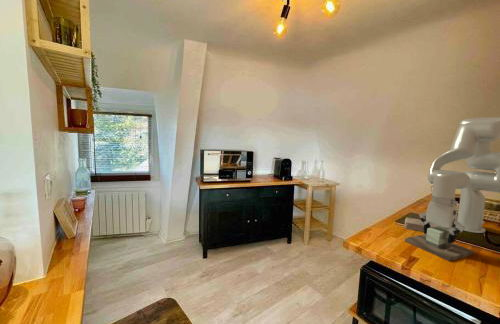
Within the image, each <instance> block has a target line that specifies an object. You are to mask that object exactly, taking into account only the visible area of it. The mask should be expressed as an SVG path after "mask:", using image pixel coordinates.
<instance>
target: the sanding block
mask: <svg viewBox="0 0 500 324" xmlns="http://www.w3.org/2000/svg"><path fill="white" fill-rule="evenodd" d="M426 234H427V236H426V243H427V244H429V245H431V246H434V247H436V248H442V247H446V246H450V243H448V237H449V234H450V232H449V230H448V229H447V228H443V227H440V226H437V227H432V228H427V233H426Z"/></svg>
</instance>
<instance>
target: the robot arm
mask: <svg viewBox="0 0 500 324" xmlns="http://www.w3.org/2000/svg"><path fill="white" fill-rule="evenodd" d="M458 125H459V126H458V128H457V129H456V132H455V135H454V138H453V140H452V143H451V145H450V149H449V150H447V151H446V152H443V153H442V154H440V155H438V157H436V158H435V159H434V160H433V162H432V163H431V166H430V168H429V170H428V175H427V181H428V183H429V184H431V185H432V193H431V200H430V201H429V203H428V204H427V209H426V212H420V213H418V216H419V218H420V220H421V221H422V222H423V225H424V232H423V234H427V228H430V223H432V224H435V225H437V226H440V227H443V228H446V229H448V230H449V232H450V234H449V237H448V243H455V242H456V239H457V238H456V237H457V235H458V234H460V233H462V232H463V231H464V232H469V233H473V234H474V233H475V234H484V233H486V228H484V227H483V224H485V221H484V219H483V218H484V211H485V205H486V196H485V195H484V194H483V192H482V191H484V192H485V191H486V192H491V193H500V151H492V150H491V145H492V142H496V141H498V140H500V116H496V117H495V116H494V117H491V116H490V117H473V118H472V117H471V118H465V119H462V120H460V121H459V124H458ZM461 160H465V165H466V166H467V167H468V168H470V169H475V170H466V171H455V170H446V169H442V168H443V167H444V166H445V165H447V164H449V163H452V162H457V161H461ZM476 169H477V170H476ZM478 170H484V171H478ZM486 171H487V172H486ZM488 171H493V172H488ZM457 190H460V197H459V202H458V201H456V198H455V197H456V191H457ZM458 204H459V205H458ZM457 205H458V209H457Z"/></svg>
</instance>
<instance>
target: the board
mask: <svg viewBox="0 0 500 324" xmlns="http://www.w3.org/2000/svg"><path fill="white" fill-rule="evenodd" d="M426 236H427V233H426V234H425V233H423V234H417V235H414V236H410V237H405V239H404V242H406V243H408V244H410V245H412V246H414V247H417V248H419V249H422V250H423V251H426V252H428V253H430V254H431V255H435V256H436V257H438V258H441V259H444V260H446V261H448V262H452V261H455V260H459V259H462V258H465V257H470V256H471V255H474V250H472V249H469V248H466V247H464V246H462V245H459V244H456V243H455V242H453V243H450V246H446V247H442V248H436V247H434V246H431V245H429V244H427V243H426Z"/></svg>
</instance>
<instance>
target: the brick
mask: <svg viewBox="0 0 500 324" xmlns="http://www.w3.org/2000/svg"><path fill="white" fill-rule="evenodd" d="M403 227H404V229H407V230H411V231H416V232H422V233H424V225H423V222H422V221H421V219H419V218H412V217H406V218H405V220H404V226H403ZM432 227H437V225H435V224H432V223H430V228H432Z"/></svg>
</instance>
